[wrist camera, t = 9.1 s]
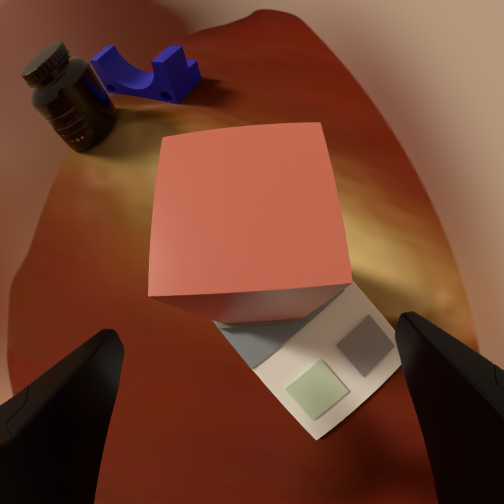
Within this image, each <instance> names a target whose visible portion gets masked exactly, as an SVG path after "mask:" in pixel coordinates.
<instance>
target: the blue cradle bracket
mask: <svg viewBox="0 0 504 504" xmlns="http://www.w3.org/2000/svg"><path fill="white" fill-rule="evenodd" d="M90 62H91V64H92V65H93V67H94V69H95V71H96V73H97V74H98V76H99V78H100V79H101V81H102V83H103V85H104V86H105V88H106V90H107V92H108V93H112V94H116V93H118V94H125V95H131V96H137V97H143V98H149V99H154V100H160V101H165V102H170V103H174V104H179V103H180V102H181V101H182V100H183V98H184V97H185V96H186V95H187V94H188V93H189V92H190V91H191V90H192V89H193V88H194V87H195V86H196V85H197V84H198V83H199V82H200V81H201V80H202V79H201V75H200V71H199V68H198V64H197V61H194V60H186V58H185V54H184V51H183V47H182V46H169V47H168V48H167V49H166V50H164V51H163V52H162V53H161V54H160V55H158V56H157V57H156V58H155V59H154V60H153V61H151V63H152V66H153V72H152V73H147V72H144V71H141V70H139V69H137V68H135V67H133V66H132V65H130V64H129V63H128V62H127V61H126V60H125V59H124V58H123V57H122V56H121V55H120V54H119V52H118V51H117V49H116V48H115V46H106V47H105V48H104V49H103V50H101V51H100V52H99V53H98V54H97V55H96V56H94V58H92V59H91V60H90Z"/></svg>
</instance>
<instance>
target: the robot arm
mask: <svg viewBox="0 0 504 504" xmlns="http://www.w3.org/2000/svg"><path fill="white" fill-rule="evenodd" d="M395 341H396V345H397V348H398V352H399V356H400V360H401V364H402V369H403V373H404V377H405V380H406V383H407V386H408V389H409V392H410V395H411V398H412V401H413V404H414V407H415V411H416V414H417V417H418V420H419V424H420V427H421V430H422V434H423V437H424V441H425V445H426V448H427V452H428V456H429V460H430V464H431V469H432V473H433V477H434V482H435V487H436V492H437V498H438V503H439V504H504V370H502V369H501V368H500V367H498V366H497V365H495V364H493V363H492V362H491V361H489V360H488V359H486V358H485V357H483V356H482V355H480V354H479V353H477V352H476V351H474V350H473V349H471V348H470V347H468V346H467V345H465V344H464V343H462V342H461V341H459V340H457V339H456V338H454V337H453V336H451V335H450V334H448V333H447V332H445V331H444V330H442V329H440V328H439V327H437V326H436V325H434V324H433V323H431V322H429V321H428V320H426V319H425V318H423V317H422V316H420V315H418V314H417V313H415V312H413V311H410V312H404V313H402V314H401V315H400V317H399V321H398V324H397V328H396V331H395ZM123 358H124V347H123V345H122V342H121V340H120V338H119V336H118V334H117V332H116V331H115V330H114V329H102V330H101V331H100V332H98V333H97V334H95V335H94V336H93V337H91V338H90V339H89V340H87V341H86V342H85V343H83V344H82V345H81V346H79V347H78V348H77V349H75V350H74V351H73V352H71V353H70V354H68V355H67V356H66V357H64V358H63V359H62V360H61V361H59V362H58V363H57V364H55V365H54V366H53V367H51V368H50V369H49V370H47V371H46V372H45V373H43V374H42V375H41V376H39V377H38V378H37V379H36V380H34V381H33V382H32V383H30V385H28V386H26V387H25V388H24V389H23V390H21V391H20V392H19V393H17V394H16V395H15V396H13V397H12V398H11V399H9V400H8V401H6V402H5V403H3V404H2V405H0V504H94V501H95V493H96V487H97V481H98V475H99V470H100V465H101V460H102V455H103V450H104V445H105V441H106V436H107V432H108V428H109V423H110V419H111V415H112V411H113V407H114V404H115V400H116V396H117V392H118V387H119V381H120V375H121V369H122V364H123Z"/></svg>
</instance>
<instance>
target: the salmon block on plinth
mask: <svg viewBox="0 0 504 504" xmlns="http://www.w3.org/2000/svg"><path fill="white" fill-rule="evenodd" d="M352 283H353V281H352V274H351V266H350V260H349V253H348V247H347V241H346V235H345V229H344V224H343V218H342V213H341V208H340V203H339V198H338V193H337V188H336V184H335V179H334V175H333V170H332V166H331V162H330V158H329V154H328V150H327V146H326V142H325V138H324V134H323V131H322V127H321V123H283V124H265V125H252V126H241V127H231V128H222V129H214V130H206V131H199V132H192V133H185V134H179V135H173V136H168V137H162V143H161V149H160V156H159V163H158V170H157V178H156V186H155V195H154V205H153V215H152V227H151V241H150V259H149V286H148V296H149V297H151V298H154V299H157V300H159V301H162V302H164V303H167V304H169V305H172V306H175V307H177V308H180V309H183V310H185V311H188V312H191V313H194V314H197V315H199V316H202V317H205V318H208V319H211V320H214V321H217V328H218V329H230V328H250V327H266V326H280V325H292V324H303V323H308V314H310V313H311V312H313V311H314V310H315V309H317V308H318V307H320V306H321V305H323V304H324V303H326V302H327V301H328V300H330V299H331V298H333V297H334V296H335V295H337V294H338V293H340V292H341V291H342V290H344V289H345V288H346V287H348V286H349V285H350V284H352Z"/></svg>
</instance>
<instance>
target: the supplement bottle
mask: <svg viewBox="0 0 504 504" xmlns="http://www.w3.org/2000/svg"><path fill="white" fill-rule="evenodd" d="M70 55H71V53H70V51H69V50H68V49H67V48H66V47H65V45H64V44H63V42H62V41H58V42H55V43H53V44H51V45H50V46H48V47H47V48H45V49H44V50H42V51H41V52H40V53H39V54H37V55H36V56H35V57H34V58H33V59H32V60H31V61H30V62H29V63H28V65H27V66H26V67H25V68H24V70H23V72H22V77H23V78H24V80H25V81H26V82H27V84H28V86H29V87H30V88H34V89H33V91H32V95H31V103H32V105H33V107H34V108H35V110H36V111H37V112H38V113H39V114H40V115H41V117H42V118H43V119H44V120H45V121H46V122H47V123H48V124H49V125H50V127H51V128H52V129H53V130H54V131H55V132H56V133H57V134H58V135H59V136H60V137H61V139H62V140H63V141H64V142H65V143H66V144H67V145H68V146H69V147H70V148H71V149H73V150H75V151H85V150H88V149H90V148H92V147H94V146H96V145H97V144H99V143H100V142H101V141H103V140H104V139H105V138H106V137H107V136H108V135H109V133H110V132H111V131H112V129H113V127H114V125H115V123H116V120H117V110H116V108H115V106H114V105H113V103H112V101H111V100H110V98H109V97H108V95H107V93H106V92H105V90H104V88H103V87H102V85H101V84H100V82H99V81H98V79H97V77H96V75H95V74H94V72H93V70H92V69H91V67H90V66H89V64H88V62H87V61H86V60H85V59H84V58H81V57H70Z"/></svg>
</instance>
